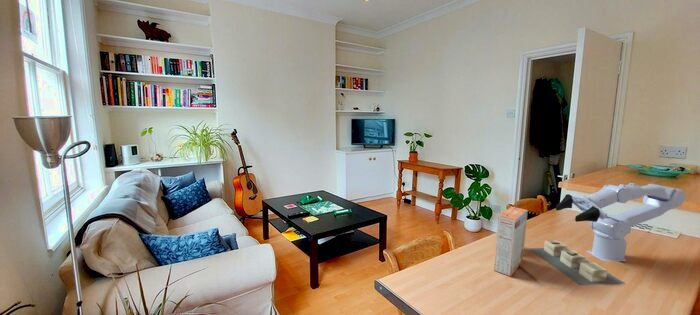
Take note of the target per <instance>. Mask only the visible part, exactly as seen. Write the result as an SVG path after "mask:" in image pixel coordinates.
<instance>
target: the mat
mask: <svg viewBox="0 0 700 315" xmlns="http://www.w3.org/2000/svg"><path fill="white" fill-rule="evenodd" d="M528 250H529V251H530V252H532V253H534V254H535V255H536V256H538V257H539V258H541V259H542V260H543V261H545V262H547V263H548V264H549V265H550V266H552V267H553V268H555V269H556V270H558V271H560V273H562V274H563V275H564V276H566V277H568V278H569V279H571V280H572V281H573V282H574V283H576V284H577V285H579V286H585V285H586V286H591V285H592V286H593V285H595V286H596V285H620V284H625V285H626V282H625V281H623V280H621V279H619V278H617V277H615V276H614V275H612V274H611V273H609V272H607V277H606V281H598V282H591V281H590V280H588V279H587V278H585V277H584V276H582V275H581V274H579V269H580V268H570V267H569V266H567V265H566V264H564V263H563V262H561V261H560V257H561V256H552V255H551V254H549V253H548V252H546V251H544V247H540V248H539V247H538V248H537V247H536V248H534V247H531V248H528ZM566 251H571V250H570V249H568V248H567V247H566ZM587 262H590V261H589V260H587V259H585V263H587Z"/></svg>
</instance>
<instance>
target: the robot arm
mask: <svg viewBox="0 0 700 315" xmlns="http://www.w3.org/2000/svg"><path fill="white" fill-rule="evenodd" d="M641 198H643V199H642V203H643V204H644V205H640V206H638V207H635V208H632V209H630V210H627V211H623V212H621V213H617V214H608V213H607V212H606V211H604V210H603V209H604V208H606V207H608V206H611V205H613V204H616V203H621V204H626V203H628V202H629V201H631V200H639V199H641ZM686 198H687V193H686V192H685V190H684V189H681V188H675V187H670V186H665V185H659V184H657V183H648V184H646V185H641V186H640V185H638V184H637V183H634V182H629V183H628V184H622V183H620V184H619V185H614V184H605V185H603V187H602V188H601V189H600V190H598V191H597V192H594V193H592V194H589V195H583V196H578V195H572V194H570V193H567V194H565V195H564V197H563V199H562V200H561V201H560V202H559V203H557V204H556V205H555V211H562V210H565V209H572V208H573V205H574V206H576V207H577V208H578V209H579V210H580V211H581V213H579V214H577V215H575V218H574V221H575V222H576V223H577V222H589V223H590V224H589V225H590V228H591V229H592V232H593V233H594V236H593V243H592V248H591V250H586V251H585V252H587V253H588V254H590V255H591V256H593V257H595V258H597V259H599V260H601V261H603V262H616V261H617V262H627V259H626V258H625V255H626V250H627V242H626V239H625V237H626V236H627V235H629V234H631V230H632V227H633V226H634V227H635V226H637V225H639V224H641V223H645V222H647V221H650V220H653V219H656V218H658V217H661V216H662V215H664V214H665V213H667V212H668V211H670V210H674V209H676V208H679V207H681V206H682V205H683V203H684V202H685V200H686Z"/></svg>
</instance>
